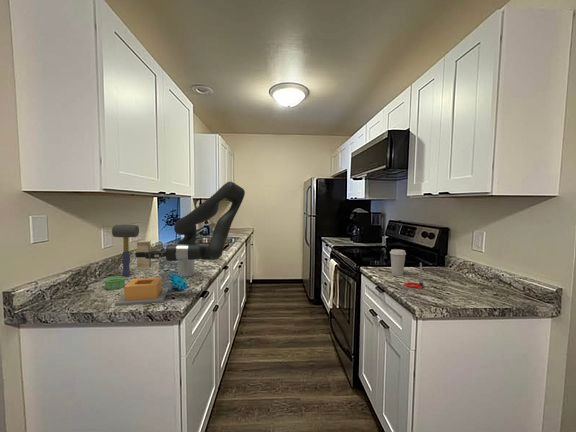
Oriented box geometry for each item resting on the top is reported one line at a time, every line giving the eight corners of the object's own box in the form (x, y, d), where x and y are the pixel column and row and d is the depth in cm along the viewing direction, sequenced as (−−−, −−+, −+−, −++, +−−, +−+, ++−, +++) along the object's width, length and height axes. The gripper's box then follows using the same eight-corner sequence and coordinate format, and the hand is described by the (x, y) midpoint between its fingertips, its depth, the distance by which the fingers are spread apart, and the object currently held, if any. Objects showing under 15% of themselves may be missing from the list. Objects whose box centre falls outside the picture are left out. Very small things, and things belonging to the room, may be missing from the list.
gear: (178, 289, 131) (167, 273, 134) (170, 297, 132) (159, 281, 135) (192, 286, 142) (182, 271, 144) (185, 293, 142) (174, 278, 145)
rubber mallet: (111, 278, 155) (110, 224, 153) (117, 274, 162) (117, 223, 161) (135, 277, 156) (134, 225, 155) (140, 274, 164) (139, 224, 162)
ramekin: (116, 290, 134) (115, 281, 134) (99, 289, 135) (99, 280, 135) (129, 285, 143) (129, 276, 143) (114, 284, 144) (114, 275, 144)
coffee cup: (386, 274, 172) (387, 250, 172) (392, 271, 180) (393, 248, 179) (402, 277, 166) (403, 252, 165) (407, 274, 173) (408, 250, 173)
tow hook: (402, 287, 147) (421, 289, 142) (401, 263, 147) (420, 264, 142) (406, 283, 154) (424, 286, 149) (405, 260, 154) (424, 262, 148)
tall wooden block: (140, 267, 126) (139, 241, 126) (150, 266, 127) (150, 240, 127) (137, 269, 122) (137, 242, 121) (148, 268, 123) (148, 242, 122)
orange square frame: (128, 292, 132) (128, 277, 131) (169, 289, 136) (169, 275, 136) (114, 305, 114) (114, 289, 114) (161, 302, 119) (161, 286, 118)
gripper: (180, 242, 134) (141, 243, 130) (175, 246, 121) (132, 248, 116) (180, 257, 135) (141, 259, 131) (175, 264, 121) (132, 265, 117)
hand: (137, 253), depth 124 cm, fingers closed on tall wooden block, 4 cm apart
